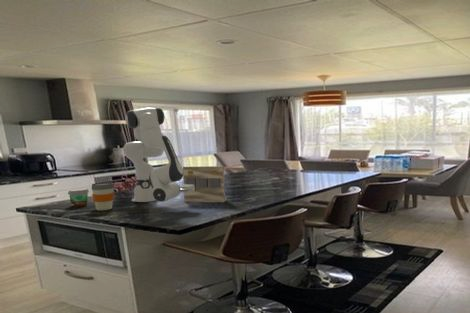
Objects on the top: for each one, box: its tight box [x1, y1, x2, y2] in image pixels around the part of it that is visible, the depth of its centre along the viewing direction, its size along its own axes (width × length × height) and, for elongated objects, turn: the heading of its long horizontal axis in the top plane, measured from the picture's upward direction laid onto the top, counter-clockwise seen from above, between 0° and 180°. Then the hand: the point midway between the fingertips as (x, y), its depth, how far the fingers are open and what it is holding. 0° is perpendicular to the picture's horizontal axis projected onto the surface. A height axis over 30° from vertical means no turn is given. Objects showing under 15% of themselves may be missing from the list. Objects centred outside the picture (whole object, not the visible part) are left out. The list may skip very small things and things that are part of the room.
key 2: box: [210, 178, 221, 187], centre depth 223 cm, size 5×6×5 cm
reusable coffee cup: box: [91, 181, 115, 211], centre depth 214 cm, size 13×12×15 cm
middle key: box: [197, 178, 208, 187], centre depth 223 cm, size 5×6×5 cm
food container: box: [67, 188, 90, 208], centre depth 225 cm, size 12×6×10 cm, turn 129°
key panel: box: [182, 165, 227, 203], centre depth 226 cm, size 7×26×22 cm, turn 76°
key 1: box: [186, 178, 196, 187], centre depth 227 cm, size 5×6×5 cm
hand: (182, 186), depth 212 cm, fingers closed
